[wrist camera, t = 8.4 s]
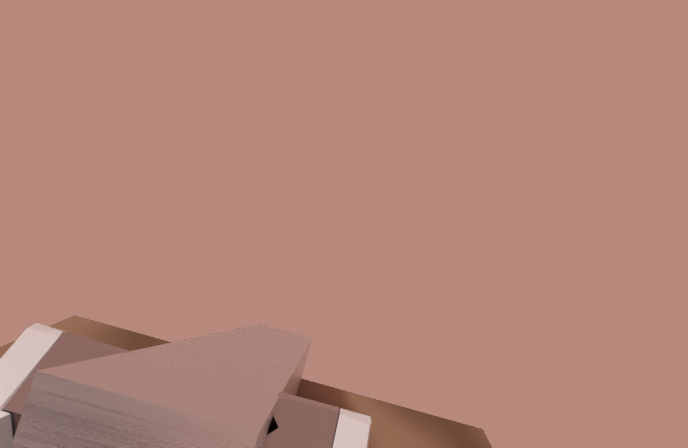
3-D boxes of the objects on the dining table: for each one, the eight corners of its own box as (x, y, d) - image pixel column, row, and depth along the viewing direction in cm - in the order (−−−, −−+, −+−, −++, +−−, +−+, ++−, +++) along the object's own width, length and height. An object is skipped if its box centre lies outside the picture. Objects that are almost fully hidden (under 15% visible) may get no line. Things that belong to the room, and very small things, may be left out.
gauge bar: (-44, 610, 6) (36, 370, 7) (244, 377, 28) (260, 324, 28) (189, 677, 6) (258, 432, 7) (297, 392, 28) (312, 338, 28)
